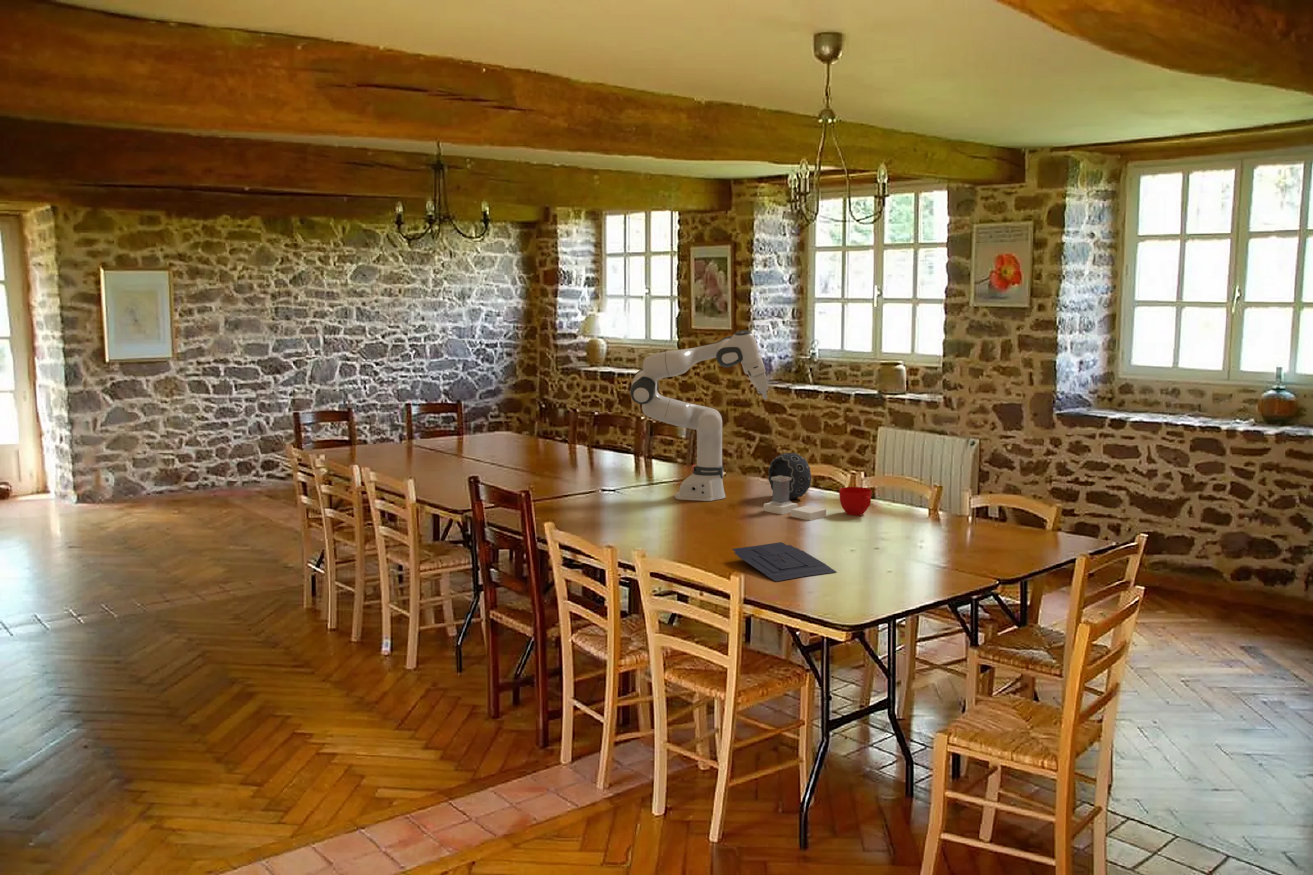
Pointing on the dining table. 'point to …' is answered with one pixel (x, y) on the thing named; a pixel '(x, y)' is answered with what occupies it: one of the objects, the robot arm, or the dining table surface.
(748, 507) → the dining table surface
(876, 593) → the dining table surface
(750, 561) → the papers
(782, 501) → the housing
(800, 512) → the stand
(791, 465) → the dark grey rounded piece
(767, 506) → the stand
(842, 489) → the ceramic cup
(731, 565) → the dining table surface
